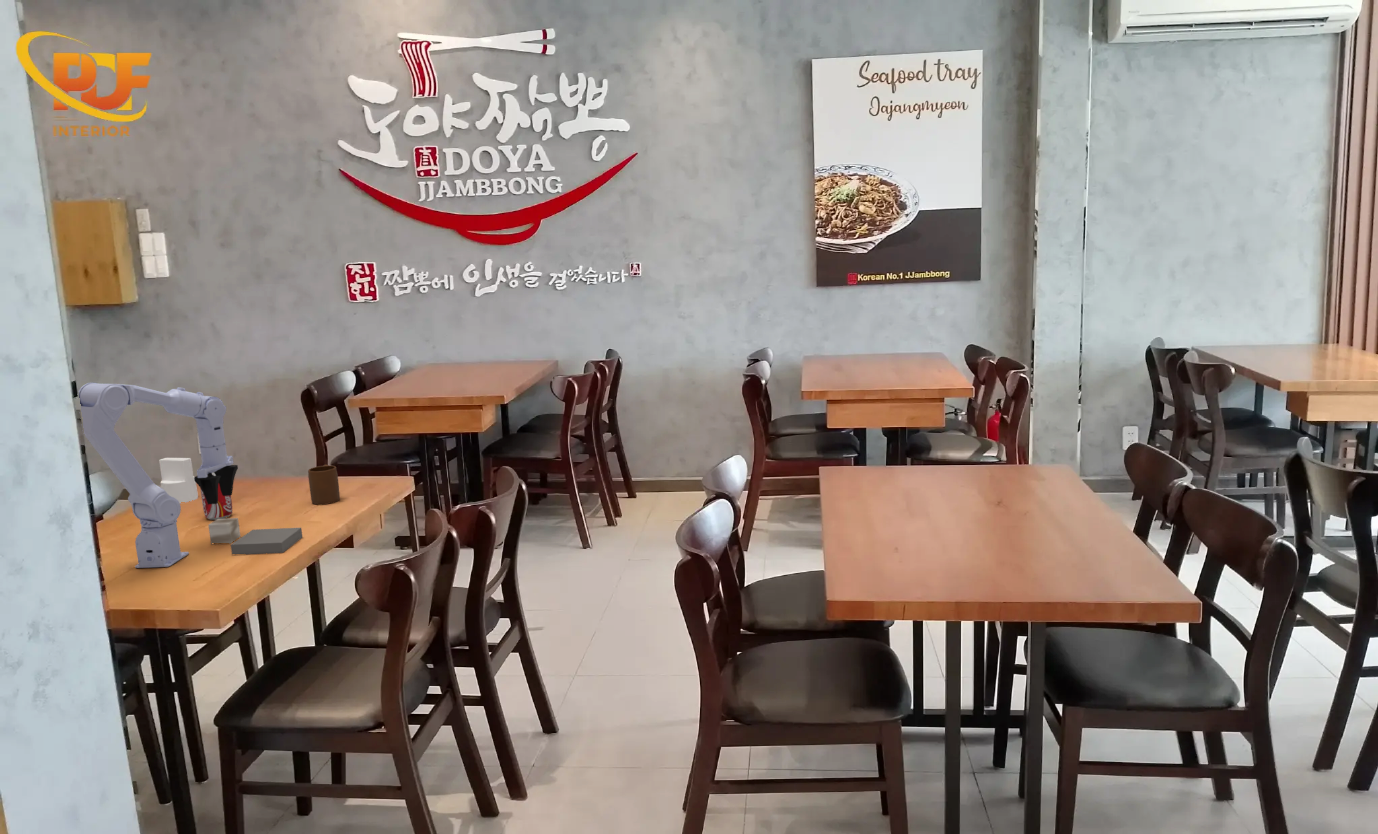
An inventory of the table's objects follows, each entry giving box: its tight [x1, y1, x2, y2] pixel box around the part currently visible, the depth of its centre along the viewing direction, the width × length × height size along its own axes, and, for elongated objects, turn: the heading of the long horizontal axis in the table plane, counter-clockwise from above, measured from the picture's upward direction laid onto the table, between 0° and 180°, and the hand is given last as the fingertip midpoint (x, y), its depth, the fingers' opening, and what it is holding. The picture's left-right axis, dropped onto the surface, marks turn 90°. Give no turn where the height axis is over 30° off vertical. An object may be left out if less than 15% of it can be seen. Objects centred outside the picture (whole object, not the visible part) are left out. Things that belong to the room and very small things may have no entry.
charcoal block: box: [230, 527, 303, 555], centre depth 246 cm, size 12×12×3 cm
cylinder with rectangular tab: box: [158, 457, 199, 504], centre depth 295 cm, size 9×9×12 cm
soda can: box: [199, 472, 233, 521], centre depth 273 cm, size 7×7×12 cm
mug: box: [307, 463, 341, 505], centre depth 287 cm, size 12×8×9 cm, turn 11°
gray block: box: [208, 517, 241, 545], centre depth 252 cm, size 5×5×5 cm
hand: (220, 499), depth 251 cm, fingers open, 7 cm apart
